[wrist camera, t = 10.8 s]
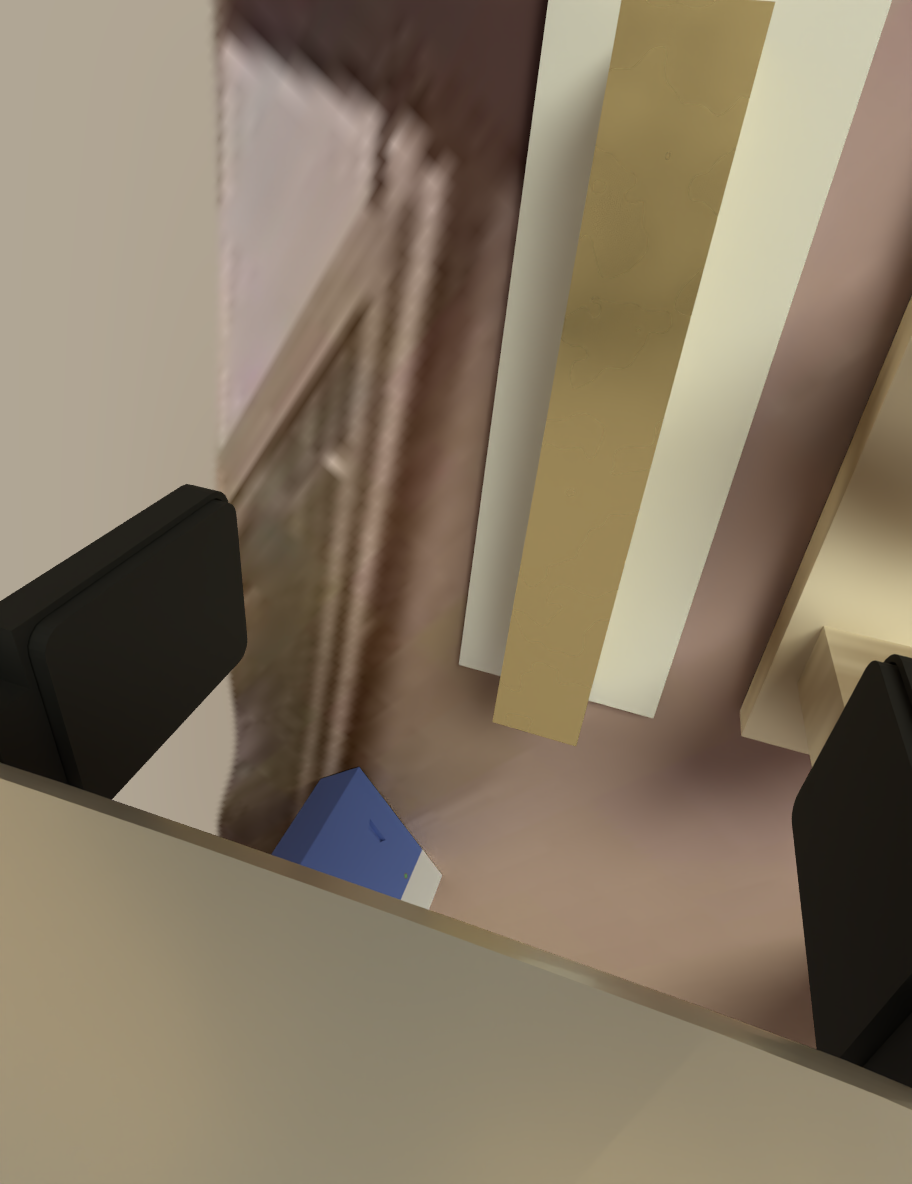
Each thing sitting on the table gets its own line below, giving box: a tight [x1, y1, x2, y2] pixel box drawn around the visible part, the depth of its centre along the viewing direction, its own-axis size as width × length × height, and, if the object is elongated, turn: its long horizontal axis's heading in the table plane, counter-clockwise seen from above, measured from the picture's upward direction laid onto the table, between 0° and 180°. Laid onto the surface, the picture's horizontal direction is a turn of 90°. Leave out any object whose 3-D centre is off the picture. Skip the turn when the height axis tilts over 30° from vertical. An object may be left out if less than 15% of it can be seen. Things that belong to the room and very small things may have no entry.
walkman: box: [271, 767, 442, 910], centre depth 32 cm, size 8×3×12 cm, turn 34°
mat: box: [459, 0, 892, 718], centre depth 23 cm, size 22×8×1 cm, turn 175°
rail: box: [492, 0, 775, 746], centre depth 21 cm, size 20×3×4 cm, turn 175°
